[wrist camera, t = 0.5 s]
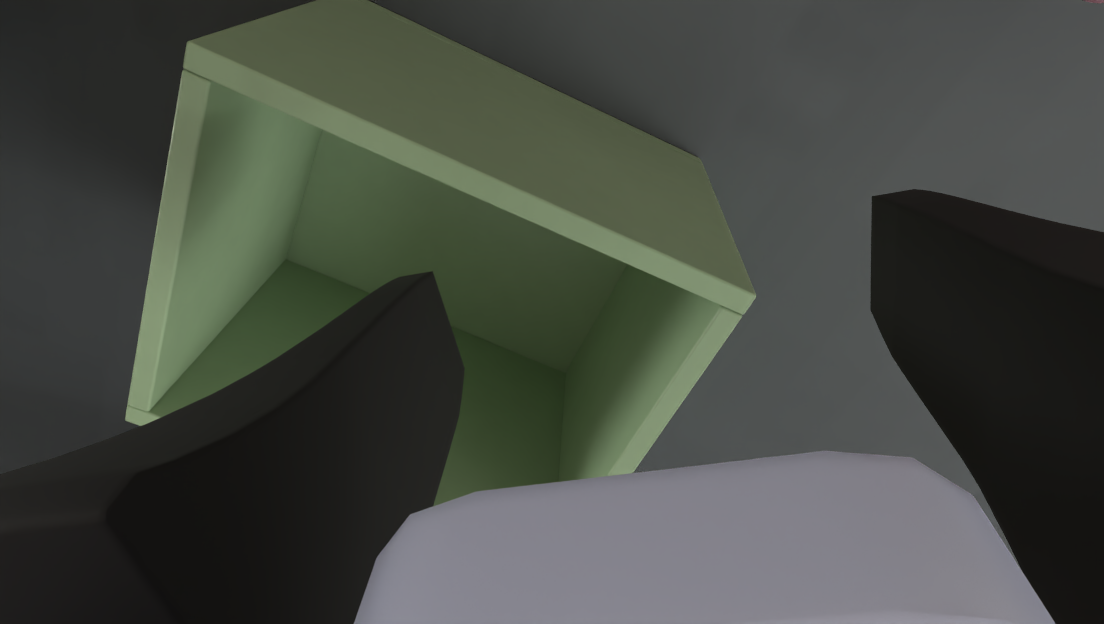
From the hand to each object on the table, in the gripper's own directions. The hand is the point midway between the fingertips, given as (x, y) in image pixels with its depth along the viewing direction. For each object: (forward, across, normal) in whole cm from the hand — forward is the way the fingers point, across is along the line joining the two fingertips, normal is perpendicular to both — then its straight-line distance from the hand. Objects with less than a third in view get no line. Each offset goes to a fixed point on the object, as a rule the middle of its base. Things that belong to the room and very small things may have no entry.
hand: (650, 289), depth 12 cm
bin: (+10, +5, +2) cm, 11 cm away
